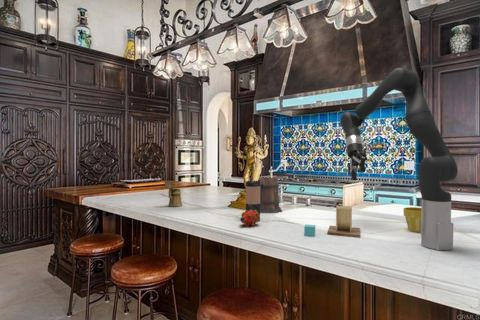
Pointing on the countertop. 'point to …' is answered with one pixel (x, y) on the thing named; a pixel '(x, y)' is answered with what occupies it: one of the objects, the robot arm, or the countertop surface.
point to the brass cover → (344, 217)
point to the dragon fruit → (250, 217)
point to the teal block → (309, 230)
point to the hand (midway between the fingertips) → (358, 175)
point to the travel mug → (253, 196)
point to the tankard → (269, 195)
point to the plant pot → (413, 218)
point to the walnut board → (344, 232)
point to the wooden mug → (173, 195)
